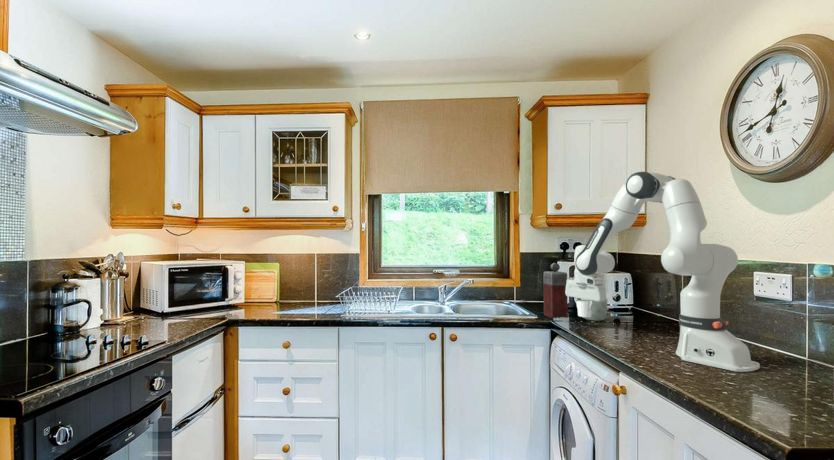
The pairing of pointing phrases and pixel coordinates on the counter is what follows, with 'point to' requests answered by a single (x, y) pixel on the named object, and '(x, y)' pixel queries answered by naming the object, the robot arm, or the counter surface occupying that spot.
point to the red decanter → (555, 292)
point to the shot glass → (583, 308)
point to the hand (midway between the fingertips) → (584, 308)
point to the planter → (598, 311)
